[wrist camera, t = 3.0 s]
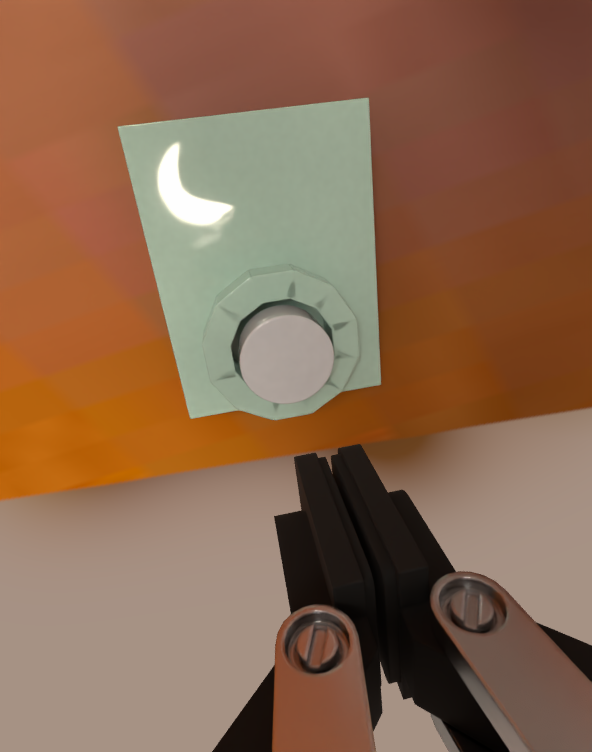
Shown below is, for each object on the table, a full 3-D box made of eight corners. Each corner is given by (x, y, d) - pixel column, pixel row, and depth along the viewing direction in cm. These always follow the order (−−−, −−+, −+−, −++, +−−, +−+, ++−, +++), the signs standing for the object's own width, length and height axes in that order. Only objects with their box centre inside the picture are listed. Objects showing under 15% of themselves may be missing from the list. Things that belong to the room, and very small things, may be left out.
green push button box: (131, 134, 20) (106, 120, 15) (348, 108, 21) (384, 88, 16) (193, 392, 25) (187, 437, 21) (363, 362, 26) (393, 400, 22)
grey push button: (230, 312, 19) (231, 324, 18) (321, 298, 20) (330, 308, 18) (246, 394, 21) (248, 412, 19) (329, 379, 21) (338, 395, 20)
